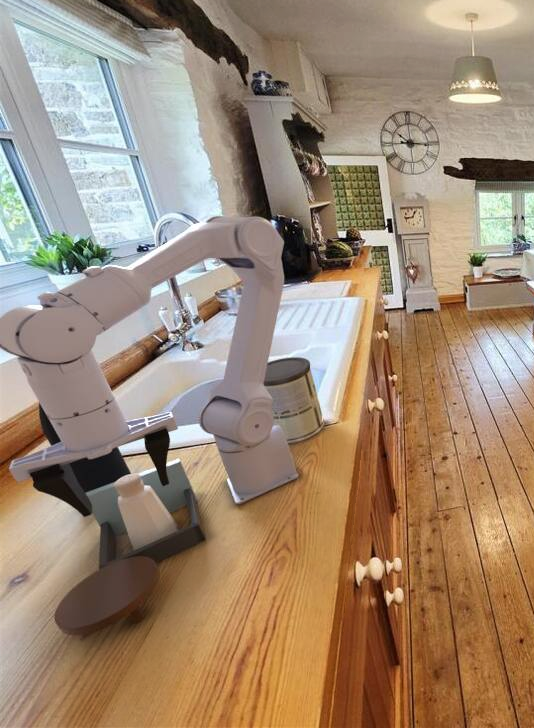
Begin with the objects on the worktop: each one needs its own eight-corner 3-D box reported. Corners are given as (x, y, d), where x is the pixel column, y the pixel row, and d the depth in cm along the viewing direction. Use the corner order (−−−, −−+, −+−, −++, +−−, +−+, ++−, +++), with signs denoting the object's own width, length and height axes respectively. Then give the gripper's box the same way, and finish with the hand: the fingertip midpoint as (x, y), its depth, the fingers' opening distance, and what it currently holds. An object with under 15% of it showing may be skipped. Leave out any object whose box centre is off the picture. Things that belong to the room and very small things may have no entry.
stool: (165, 565, 55) (154, 543, 54) (171, 613, 49) (159, 590, 48) (73, 610, 50) (58, 587, 48) (67, 670, 44) (49, 647, 42)
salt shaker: (171, 548, 58) (140, 487, 54) (125, 559, 56) (90, 498, 52) (185, 520, 63) (159, 462, 58) (143, 529, 61) (113, 471, 57)
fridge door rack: (196, 497, 67) (179, 458, 64) (207, 539, 59) (188, 496, 56) (107, 535, 61) (83, 493, 57) (106, 587, 53) (78, 542, 49)
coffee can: (261, 432, 84) (241, 370, 78) (310, 410, 91) (294, 352, 86) (283, 451, 78) (263, 385, 72) (334, 426, 85) (319, 365, 79)
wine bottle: (146, 482, 71) (67, 319, 59) (110, 510, 65) (14, 335, 53) (113, 480, 72) (28, 319, 60) (74, 508, 66) (-29, 335, 54)
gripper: (-20, 448, 41) (45, 547, 46) (162, 395, 49) (199, 483, 55) (-6, 420, 45) (51, 512, 51) (158, 377, 54) (192, 459, 60)
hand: (128, 495), depth 53 cm, fingers open, 7 cm apart
